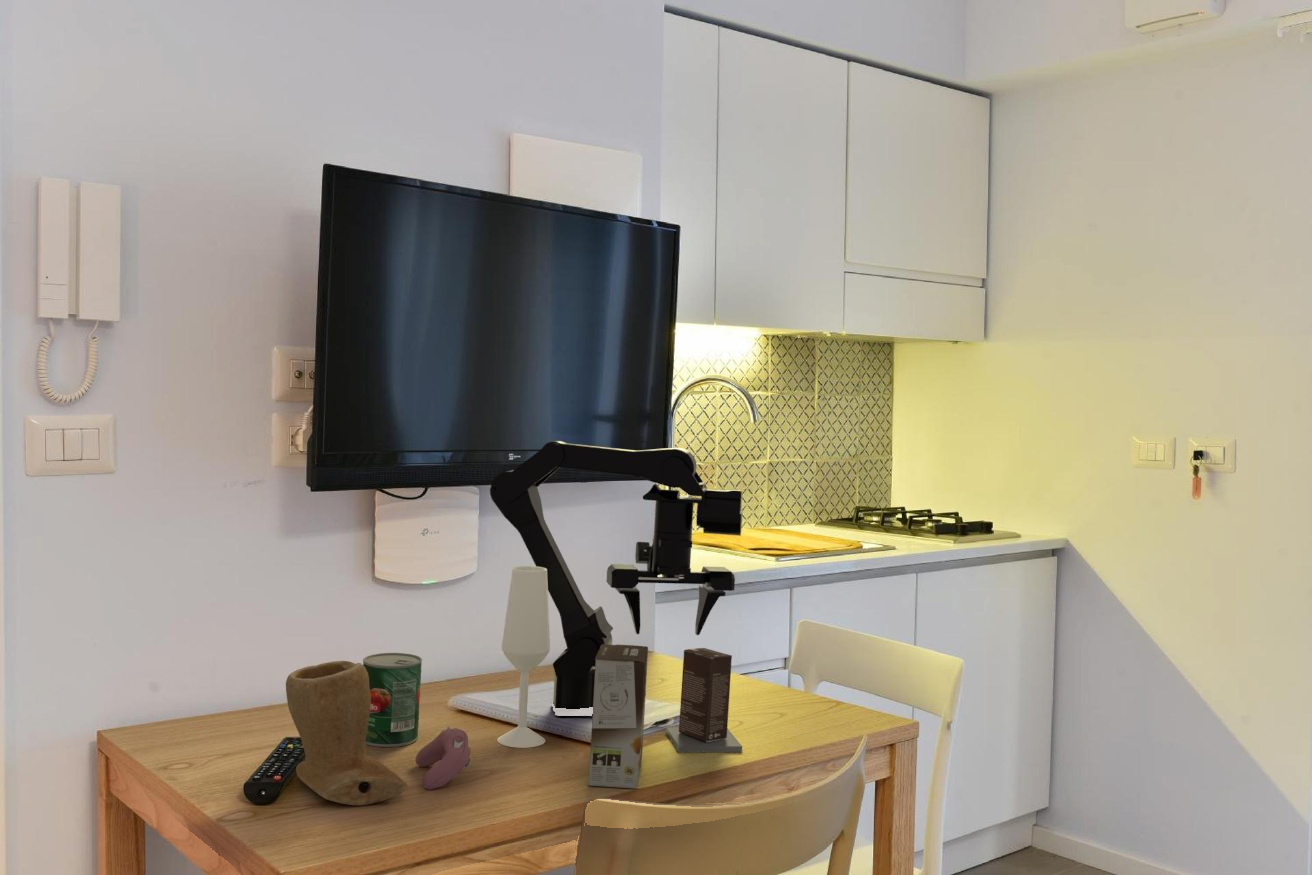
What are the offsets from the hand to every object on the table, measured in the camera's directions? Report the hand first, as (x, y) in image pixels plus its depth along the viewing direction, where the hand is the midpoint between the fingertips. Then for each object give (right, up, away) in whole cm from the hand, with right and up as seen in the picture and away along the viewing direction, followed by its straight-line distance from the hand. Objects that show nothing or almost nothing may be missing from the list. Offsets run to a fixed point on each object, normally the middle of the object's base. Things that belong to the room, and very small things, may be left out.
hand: (667, 634), depth 172 cm
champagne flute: (-20, -13, -13) cm, 28 cm away
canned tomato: (-38, -12, -16) cm, 43 cm away
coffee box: (-7, -14, -26) cm, 30 cm away
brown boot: (-39, -13, -36) cm, 55 cm away
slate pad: (+5, -14, -10) cm, 18 cm away
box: (+5, -13, -9) cm, 17 cm away
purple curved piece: (-28, -13, -30) cm, 43 cm away
